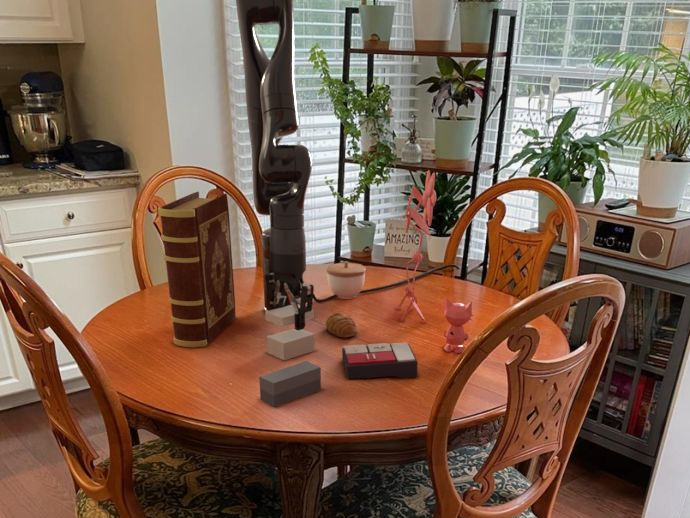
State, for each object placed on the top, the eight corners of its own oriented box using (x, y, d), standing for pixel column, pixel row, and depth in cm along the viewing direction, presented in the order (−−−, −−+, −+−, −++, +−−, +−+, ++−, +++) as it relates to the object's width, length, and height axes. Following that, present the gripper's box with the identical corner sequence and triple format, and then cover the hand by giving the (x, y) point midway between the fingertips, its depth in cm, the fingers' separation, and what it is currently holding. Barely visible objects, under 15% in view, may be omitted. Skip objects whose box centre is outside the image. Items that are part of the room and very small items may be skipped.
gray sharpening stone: (306, 383, 147) (306, 360, 145) (321, 390, 145) (320, 367, 142) (260, 399, 140) (259, 376, 137) (274, 407, 137) (273, 383, 135)
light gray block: (297, 343, 167) (297, 327, 165) (314, 350, 163) (314, 334, 161) (267, 353, 161) (266, 336, 159) (284, 360, 158) (283, 343, 156)
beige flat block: (296, 312, 163) (296, 303, 162) (314, 318, 159) (313, 309, 158) (265, 320, 157) (265, 311, 156) (282, 327, 153) (282, 318, 152)
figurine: (400, 332, 175) (408, 179, 157) (391, 300, 197) (398, 163, 179) (462, 332, 176) (477, 180, 158) (446, 300, 198) (458, 164, 180)
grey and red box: (341, 344, 157) (408, 339, 158) (342, 362, 159) (408, 357, 160) (346, 363, 147) (417, 358, 149) (347, 382, 150) (417, 377, 151)
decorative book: (203, 349, 162) (189, 211, 147) (170, 346, 164) (153, 208, 148) (237, 318, 181) (228, 193, 165) (207, 315, 182) (196, 190, 167)
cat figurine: (471, 347, 167) (477, 297, 161) (465, 357, 162) (470, 305, 155) (442, 343, 169) (446, 293, 163) (435, 353, 164) (439, 301, 157)
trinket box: (320, 298, 197) (320, 264, 192) (336, 288, 206) (336, 255, 201) (355, 303, 194) (356, 268, 189) (370, 293, 202) (371, 259, 197)
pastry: (363, 337, 171) (364, 322, 169) (338, 341, 169) (338, 325, 167) (347, 325, 179) (347, 310, 177) (322, 328, 176) (322, 313, 174)
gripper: (323, 252, 148) (324, 330, 157) (280, 240, 157) (282, 314, 165) (296, 258, 144) (297, 337, 152) (252, 245, 152) (256, 321, 161)
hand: (290, 325), depth 159 cm, fingers closed on beige flat block, 6 cm apart
